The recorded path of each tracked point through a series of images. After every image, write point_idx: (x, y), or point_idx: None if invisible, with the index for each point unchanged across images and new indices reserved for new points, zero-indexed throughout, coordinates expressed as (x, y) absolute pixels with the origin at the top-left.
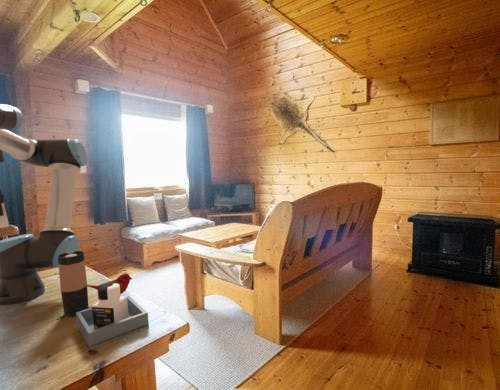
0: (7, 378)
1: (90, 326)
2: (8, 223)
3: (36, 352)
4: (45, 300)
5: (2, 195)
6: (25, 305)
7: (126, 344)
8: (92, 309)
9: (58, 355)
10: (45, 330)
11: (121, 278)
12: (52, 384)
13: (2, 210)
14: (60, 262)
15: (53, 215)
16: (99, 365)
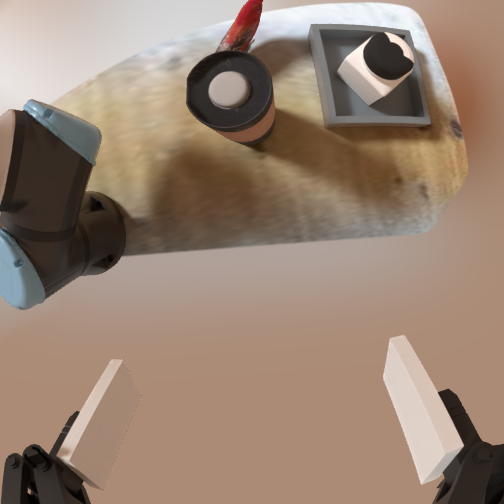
0: (416, 231)
1: (355, 109)
2: (409, 345)
3: (375, 195)
4: (142, 184)
5: (33, 458)
6: (146, 220)
7: (431, 84)
8: (383, 97)
9: (406, 168)
10: (301, 179)
11: (254, 14)
12: (460, 184)
13: (464, 410)
14: (253, 124)
15: None
16: (457, 129)
